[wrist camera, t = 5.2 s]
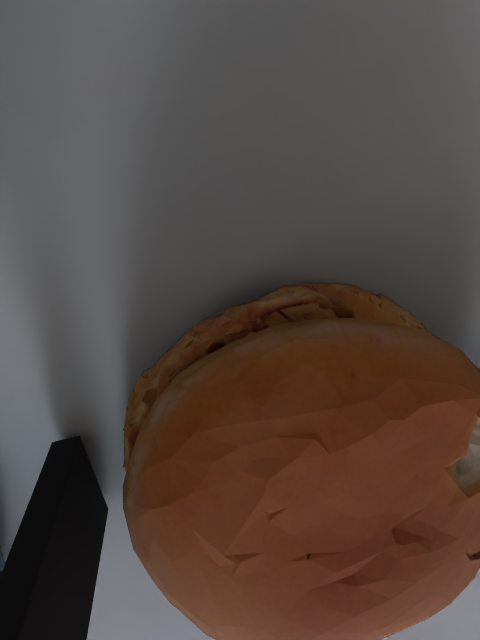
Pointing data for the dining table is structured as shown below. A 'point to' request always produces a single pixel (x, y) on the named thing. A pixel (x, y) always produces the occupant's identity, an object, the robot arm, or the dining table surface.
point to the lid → (1, 560)
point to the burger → (306, 469)
